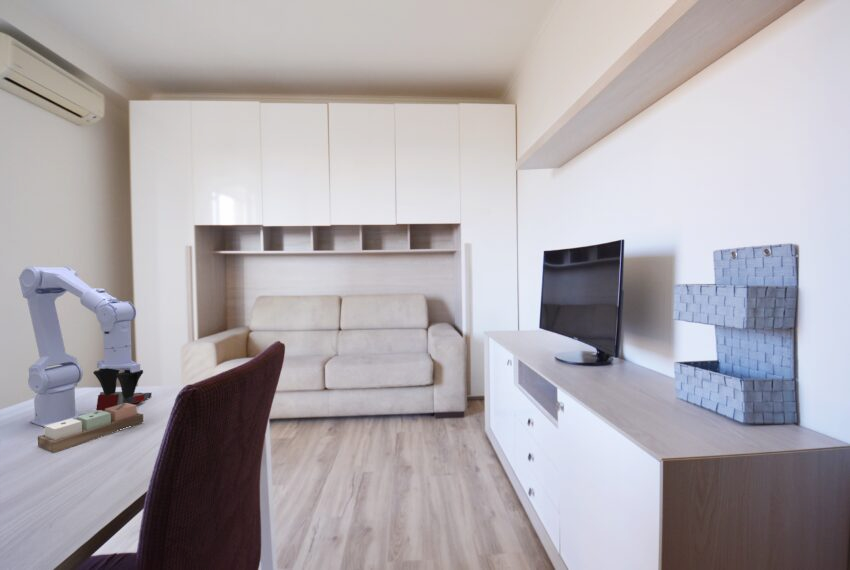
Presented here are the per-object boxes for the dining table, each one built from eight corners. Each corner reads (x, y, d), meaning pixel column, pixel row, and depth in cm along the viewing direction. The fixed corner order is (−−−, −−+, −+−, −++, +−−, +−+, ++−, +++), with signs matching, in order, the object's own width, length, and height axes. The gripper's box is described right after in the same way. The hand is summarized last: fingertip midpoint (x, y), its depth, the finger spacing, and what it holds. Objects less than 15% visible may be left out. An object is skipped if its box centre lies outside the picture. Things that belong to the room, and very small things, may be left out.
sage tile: (76, 429, 93) (76, 416, 93) (100, 422, 98) (100, 409, 97) (87, 433, 91) (86, 419, 91) (111, 425, 95) (110, 412, 95)
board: (37, 446, 87) (37, 436, 87) (126, 418, 104) (126, 410, 104) (54, 452, 84) (53, 442, 84) (143, 422, 101) (142, 414, 101)
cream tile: (45, 439, 87) (44, 425, 87) (71, 431, 92) (71, 417, 92) (55, 443, 85) (54, 428, 85) (82, 434, 90) (81, 420, 90)
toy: (129, 406, 122) (89, 414, 107) (132, 387, 123) (92, 392, 108) (155, 405, 122) (118, 414, 107) (157, 386, 123) (121, 392, 108)
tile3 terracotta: (105, 421, 98) (104, 408, 98) (126, 414, 103) (126, 402, 103) (115, 424, 96) (115, 411, 96) (136, 417, 101) (136, 405, 101)
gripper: (82, 347, 97) (84, 397, 97) (118, 351, 92) (120, 403, 92) (112, 342, 103) (114, 389, 104) (147, 346, 99) (149, 395, 99)
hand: (119, 395), depth 99 cm, fingers open, 7 cm apart
